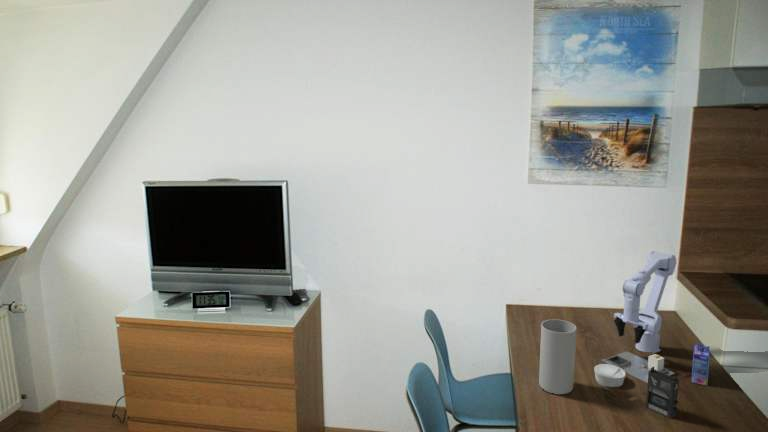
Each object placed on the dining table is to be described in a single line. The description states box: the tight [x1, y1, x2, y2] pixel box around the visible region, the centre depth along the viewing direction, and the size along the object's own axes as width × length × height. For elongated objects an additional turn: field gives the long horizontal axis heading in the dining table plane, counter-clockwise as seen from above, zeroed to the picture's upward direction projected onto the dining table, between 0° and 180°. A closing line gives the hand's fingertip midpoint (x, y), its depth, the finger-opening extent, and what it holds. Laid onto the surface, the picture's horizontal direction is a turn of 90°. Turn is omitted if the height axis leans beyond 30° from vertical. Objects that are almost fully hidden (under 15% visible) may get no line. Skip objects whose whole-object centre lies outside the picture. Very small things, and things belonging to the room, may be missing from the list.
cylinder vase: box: [538, 318, 577, 395], centre depth 195 cm, size 12×12×25 cm
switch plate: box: [601, 351, 676, 384], centre depth 210 cm, size 16×22×2 cm
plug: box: [647, 353, 665, 372], centre depth 205 cm, size 4×4×7 cm
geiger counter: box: [645, 367, 680, 419], centre depth 179 cm, size 10×4×15 cm, turn 35°
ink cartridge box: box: [691, 341, 711, 386], centre depth 200 cm, size 10×6×14 cm, turn 148°
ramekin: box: [593, 363, 627, 389], centre depth 199 cm, size 11×11×5 cm
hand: (629, 339), depth 215 cm, fingers open, 7 cm apart
